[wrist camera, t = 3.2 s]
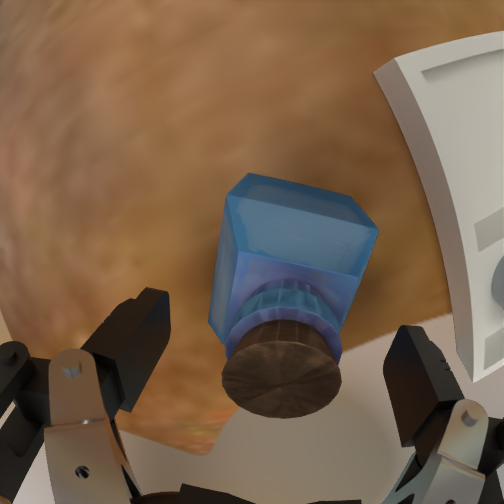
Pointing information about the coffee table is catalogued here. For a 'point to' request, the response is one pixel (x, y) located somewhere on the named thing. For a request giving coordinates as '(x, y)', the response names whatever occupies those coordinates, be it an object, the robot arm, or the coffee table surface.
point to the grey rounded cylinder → (498, 283)
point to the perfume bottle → (286, 292)
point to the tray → (460, 174)
